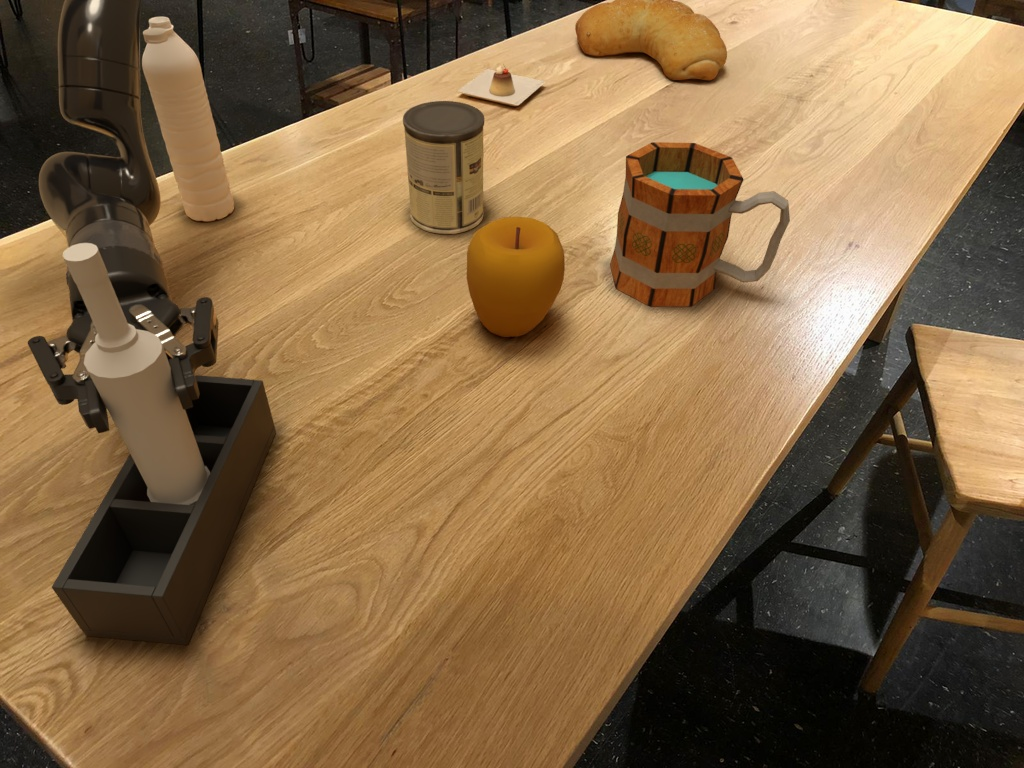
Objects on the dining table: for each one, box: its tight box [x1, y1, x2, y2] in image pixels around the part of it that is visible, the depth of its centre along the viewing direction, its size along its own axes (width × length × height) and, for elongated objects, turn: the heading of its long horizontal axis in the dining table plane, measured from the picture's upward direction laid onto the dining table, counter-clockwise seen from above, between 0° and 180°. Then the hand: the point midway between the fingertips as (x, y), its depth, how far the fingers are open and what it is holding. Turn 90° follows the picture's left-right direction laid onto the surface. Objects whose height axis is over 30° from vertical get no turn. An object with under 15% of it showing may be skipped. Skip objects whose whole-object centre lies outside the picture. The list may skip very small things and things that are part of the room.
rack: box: [51, 374, 277, 646], centre depth 65 cm, size 8×23×7 cm, turn 176°
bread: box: [574, 0, 728, 81], centre depth 150 cm, size 32×20×10 cm, turn 53°
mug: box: [609, 141, 791, 307], centre depth 91 cm, size 20×14×15 cm
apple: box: [466, 216, 566, 338], centre depth 85 cm, size 11×11×13 cm
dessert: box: [456, 63, 547, 107], centre depth 136 cm, size 12×12×5 cm
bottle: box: [62, 243, 210, 506], centre depth 57 cm, size 5×5×25 cm
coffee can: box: [402, 100, 485, 235], centre depth 101 cm, size 10×10×14 cm
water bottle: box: [141, 16, 235, 222], centre depth 96 cm, size 9×6×25 cm
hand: (142, 411), depth 55 cm, fingers closed on bottle, 5 cm apart
